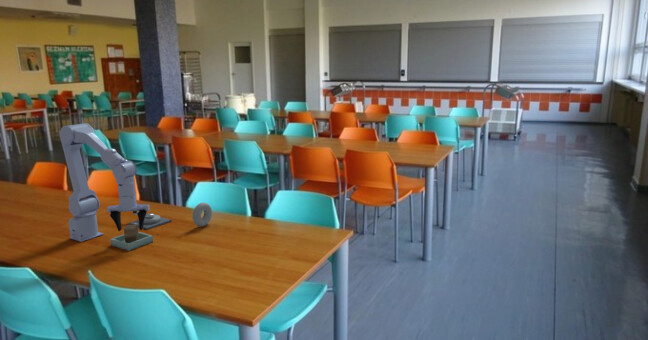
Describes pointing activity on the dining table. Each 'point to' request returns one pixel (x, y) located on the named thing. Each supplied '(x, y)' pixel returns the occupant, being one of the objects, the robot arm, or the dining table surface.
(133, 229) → the block
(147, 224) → the crank base
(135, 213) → the crank
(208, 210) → the donut
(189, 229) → the dining table surface
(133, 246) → the tray
